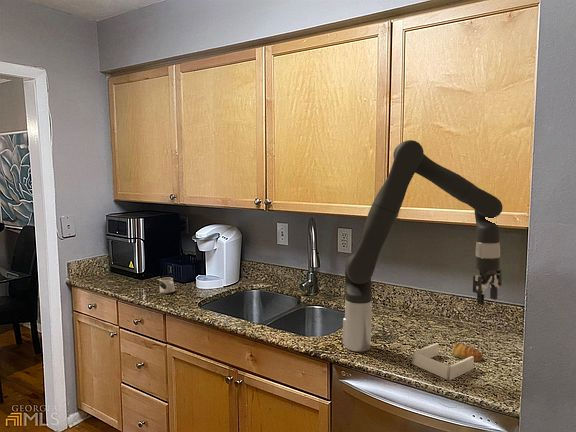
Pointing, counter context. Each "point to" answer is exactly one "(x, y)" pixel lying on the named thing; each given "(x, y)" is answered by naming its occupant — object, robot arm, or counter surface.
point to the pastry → (466, 352)
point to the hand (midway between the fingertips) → (487, 301)
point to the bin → (448, 372)
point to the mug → (166, 285)
